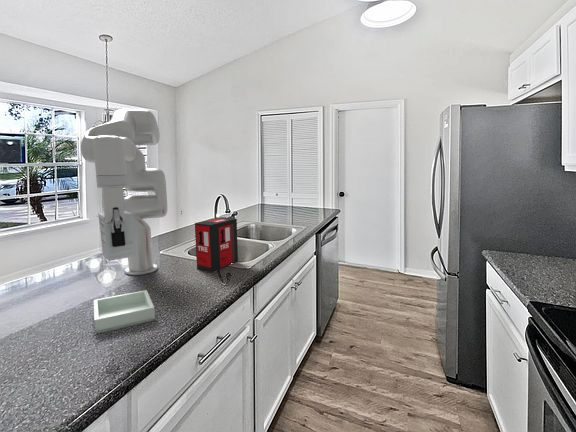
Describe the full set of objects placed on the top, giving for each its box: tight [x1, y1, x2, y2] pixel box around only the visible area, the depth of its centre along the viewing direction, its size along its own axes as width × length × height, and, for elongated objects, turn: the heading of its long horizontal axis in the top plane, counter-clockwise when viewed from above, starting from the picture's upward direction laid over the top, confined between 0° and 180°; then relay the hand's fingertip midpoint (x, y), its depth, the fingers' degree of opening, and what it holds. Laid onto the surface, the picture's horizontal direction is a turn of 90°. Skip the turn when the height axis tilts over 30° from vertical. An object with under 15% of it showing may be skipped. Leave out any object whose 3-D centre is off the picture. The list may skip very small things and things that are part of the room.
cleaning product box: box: [194, 216, 239, 273], centre depth 145 cm, size 16×9×20 cm, turn 150°
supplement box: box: [98, 211, 136, 262], centre depth 95 cm, size 7×7×13 cm
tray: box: [93, 289, 156, 334], centre depth 99 cm, size 15×15×4 cm
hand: (117, 242), depth 96 cm, fingers closed on supplement box, 8 cm apart
